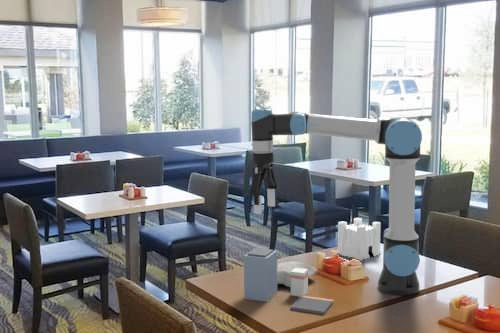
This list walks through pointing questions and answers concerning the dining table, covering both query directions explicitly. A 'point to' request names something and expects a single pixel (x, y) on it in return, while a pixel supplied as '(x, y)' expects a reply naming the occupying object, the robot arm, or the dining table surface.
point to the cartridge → (299, 282)
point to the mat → (312, 304)
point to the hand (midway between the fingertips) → (264, 209)
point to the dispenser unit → (260, 274)
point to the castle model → (358, 239)
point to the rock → (286, 269)
